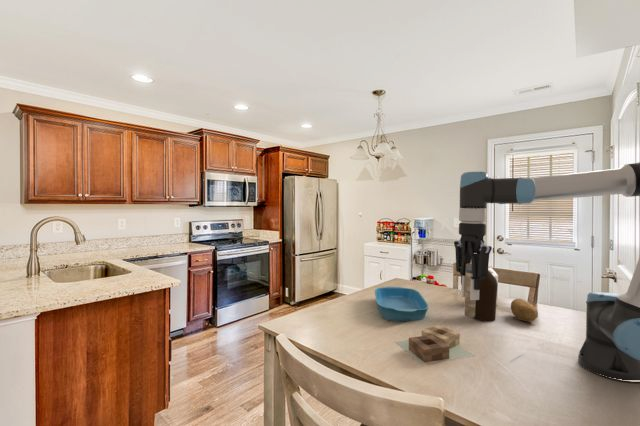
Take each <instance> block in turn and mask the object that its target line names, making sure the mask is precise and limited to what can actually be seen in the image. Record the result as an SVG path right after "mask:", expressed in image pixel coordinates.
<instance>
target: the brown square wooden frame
mask: <svg viewBox="0 0 640 426" xmlns="http://www.w3.org/2000/svg"><path fill="white" fill-rule="evenodd" d="M408 340H409V350H410V351H411V352H412V353H413V354H415V355H416V356H417V357H418V358H419V359H421V360H422V361H423V362H424V363H425V362H432V361H438V360H445V359H449V346H448V345H447V344H445V343H444V342H442V341H441V340H439V339H438V338H436V337H435V336H433V335H427V336H422V335H421V336H414V337H413V336H412V337H409V338H408ZM445 361H446V360H445ZM432 363H433V362H432Z"/></svg>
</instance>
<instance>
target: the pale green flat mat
mask: <svg viewBox="0 0 640 426" xmlns="http://www.w3.org/2000/svg"><path fill="white" fill-rule="evenodd" d="M395 343H396V344H397V346H398V347H400V348H401V349H403V350H404V351H405V352H406V353H407V354H408V355H410V356H411V357H412V358H413V359H414V360H416V362H418V363H419V365H425V364H431V363H437V362H443V361H444V362H445V361H450V360H456V359H457V360H458V359H464V358H470V357H475V356H476V355H475V354H473V353H472V352H470V351H469V350H467V349H465V348H464V347H462V346H461V345H460V344H459V345H457V346H455V347H453V348H451V349H449V359H445V360H438V361H432V362H425V363H424V362H423V361H422V360H421V359H419V358H418V357H417V356H416V355H415V354H413V353H412V352H411V351H410V350H409V339H408V340H401V341H400V340H399V341H395Z"/></svg>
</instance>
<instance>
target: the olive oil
mask: <svg viewBox="0 0 640 426" xmlns="http://www.w3.org/2000/svg"><path fill="white" fill-rule="evenodd" d="M498 285H499V283H498V284H497V280H496V278H495V277H494V276H493V275H492V274H491V273H490V272H489V270H488V273H487V278H483V279H481V289H480V290H479V300H476V303H475V317H472V318H473V319H475V320H476V321H477V320H478V321H483V322H495V321H496V317H497V313H496V312H497V305H496V301H497V288H498V289H499V286H498Z"/></svg>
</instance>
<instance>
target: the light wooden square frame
mask: <svg viewBox="0 0 640 426" xmlns="http://www.w3.org/2000/svg"><path fill="white" fill-rule="evenodd" d="M427 335H433V336H435V337H436V338H438V339H439V340H441V341H442V342H444V343H445V344H447V345H448V346H449V349H451V348H453V347H455V346H457V345H459V346H460V345H461V344H460V340H461V339H460V336H461V335H460V332H458V331H455V330H452V329H449V328H447V327H444V326H440V325H438V324H436V325H433V326H430V327H428V328H425V329H421V336H427Z"/></svg>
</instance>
